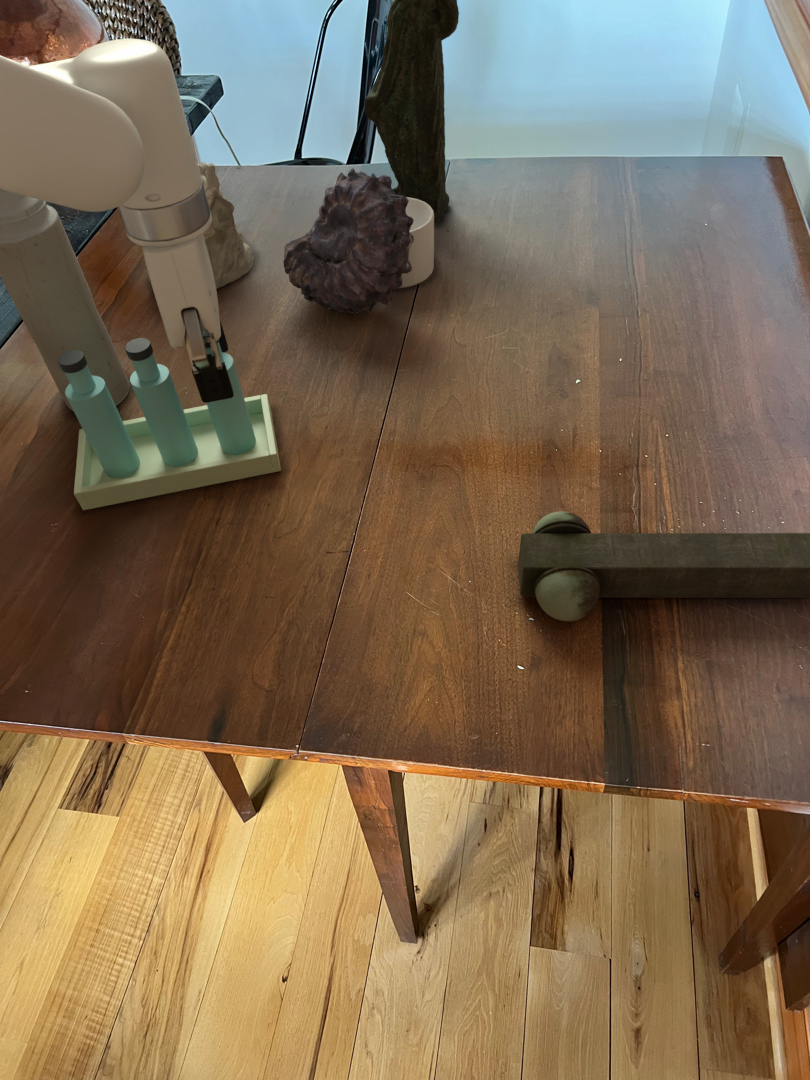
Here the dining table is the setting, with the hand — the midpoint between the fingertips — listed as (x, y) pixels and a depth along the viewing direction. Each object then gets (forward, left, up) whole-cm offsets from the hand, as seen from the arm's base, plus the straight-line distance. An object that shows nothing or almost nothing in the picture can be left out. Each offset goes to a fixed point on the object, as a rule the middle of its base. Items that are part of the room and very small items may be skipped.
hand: (215, 374), depth 80 cm
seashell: (+22, +27, -3) cm, 35 cm away
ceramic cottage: (-2, +42, -11) cm, 43 cm away
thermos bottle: (-16, +15, -11) cm, 25 cm away
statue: (+32, +47, -11) cm, 58 cm away
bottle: (0, 0, -10) cm, 10 cm away
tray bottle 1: (-13, 0, -10) cm, 16 cm away
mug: (+25, +32, -11) cm, 42 cm away
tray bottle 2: (-6, 0, -10) cm, 12 cm away
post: (+41, -27, -8) cm, 49 cm away
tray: (-6, 0, -10) cm, 12 cm away
